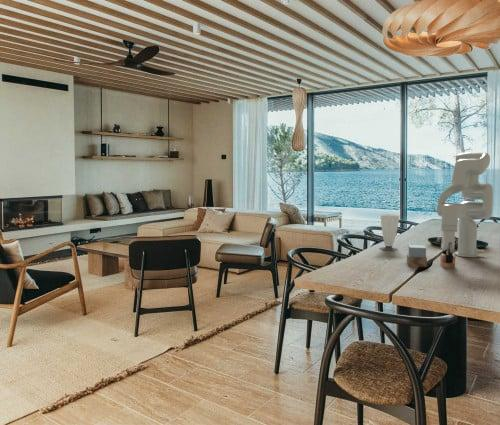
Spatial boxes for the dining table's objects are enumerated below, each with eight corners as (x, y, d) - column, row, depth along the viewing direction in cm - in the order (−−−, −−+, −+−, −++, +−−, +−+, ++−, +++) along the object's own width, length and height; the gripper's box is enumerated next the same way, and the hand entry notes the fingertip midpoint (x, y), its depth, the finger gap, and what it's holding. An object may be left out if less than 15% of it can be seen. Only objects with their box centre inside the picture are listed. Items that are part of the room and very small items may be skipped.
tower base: (424, 263, 241) (424, 254, 240) (426, 267, 232) (426, 257, 232) (406, 262, 243) (407, 253, 243) (408, 266, 235) (408, 257, 234)
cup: (375, 248, 286) (376, 214, 283) (391, 247, 289) (392, 213, 287) (386, 251, 275) (387, 216, 273) (402, 250, 278) (403, 215, 276)
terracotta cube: (452, 265, 236) (453, 254, 236) (454, 268, 230) (455, 256, 230) (440, 265, 238) (440, 253, 237) (442, 267, 232) (442, 256, 231)
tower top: (424, 254, 240) (424, 245, 240) (425, 257, 232) (426, 248, 232) (408, 253, 242) (408, 244, 242) (409, 256, 235) (409, 247, 234)
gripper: (438, 226, 241) (437, 257, 243) (444, 230, 224) (442, 263, 226) (453, 226, 239) (452, 258, 241) (460, 230, 223) (458, 264, 224)
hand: (447, 261), depth 233 cm, fingers open, 9 cm apart
